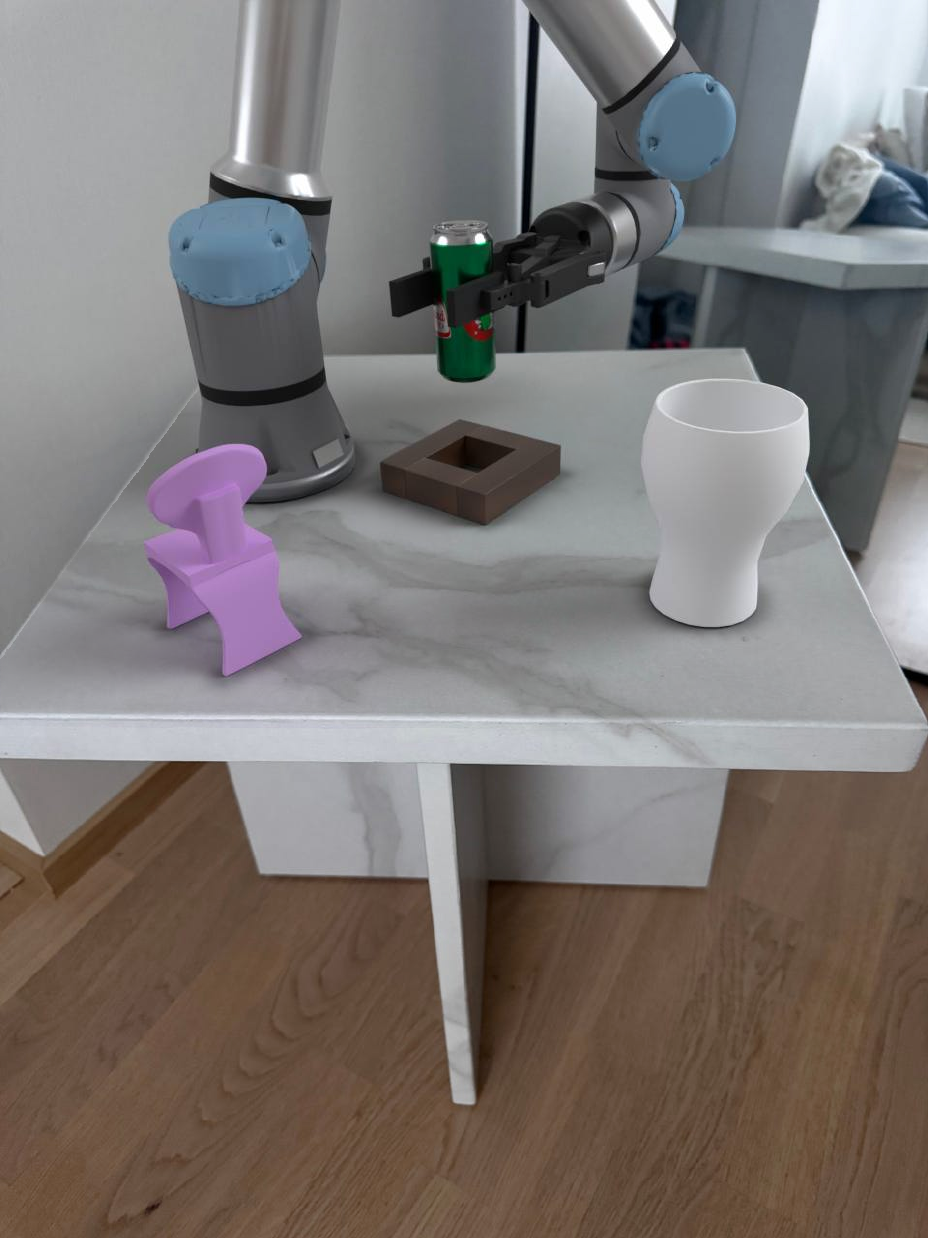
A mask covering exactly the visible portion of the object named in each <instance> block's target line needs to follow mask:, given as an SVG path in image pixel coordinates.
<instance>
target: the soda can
mask: <svg viewBox="0 0 928 1238" xmlns="http://www.w3.org/2000/svg"><path fill="white" fill-rule="evenodd" d="M488 228H489V224H488V222H485V221H483V220H478V219H477V220H476V219H455V220H446V221H441V222H438V223H436V224H434V225H433V226H432V231H433V233H432V235H431V237H430V238H429V242H428V245H429V256H430V262H431V278H432V294H433V305H432V309H433V321H434V325H433V326H434V338H435V339H434V340H435V353H436V369H437V372H438V373H439V375H440V376H441V377H442V378H443V379H445V380H447V381H449V382H453V383H459V384H469V383H470V384H471V383H477V382H480V381H484V380H486V379H488V378H489V377H490V376H492V374H493V373H494V372H495V370H496V369H497V356H496V315H495V314H496V311H495V312H492V313H490V314H488V315H485V316H483V317H481V318H478V319H476V320H474V321H471V322H469V323H467V324H464V325H462V326H460V327H457V328H451V327H448V321H447V303H446V290H449V289H451V288H454V287H457V286H459V285H462V284H465V283H467V282H470V281H473V280H475V279H478V278H481V277H483V276H486V275H488V274H491V273H494V265H493V246H494V238H493V236H492V234H491V233H490V231H489V229H488Z"/></svg>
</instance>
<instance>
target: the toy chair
mask: <svg viewBox="0 0 928 1238" xmlns="http://www.w3.org/2000/svg"><path fill="white" fill-rule="evenodd" d="M266 473H267V466H266V462H265V459H264V457H263V455H262V453H261V452H260V451H259V450H258V449H257V448H255V447H253V446H250V445H246V444H227V445H221V446H217V447H214V448H211V449H209V450H206V451H203V452H200V453H195V454H192V455H191V456H188V457H186V458H184V459H183V460H180V461H179V462H178V463H176V464H173V466H171V467H170V468H169V469H167V470H166V471H164V472H163V473H162V474H161V475H160V476H158V477H157V478H156V479H155V480H154V481H153V483H152V484H151V485H150V486H149V488H148V490H147V492H146V496H145V503H146V506H147V507H146V508H147V509H148V510H149V512H150V513H151V515H152V516H153V518H155V519H156V520H157V521H158V522H160V523H161V524H163V525H166V526H169V527H170V528H171V529H175V530H172V531H169V532H166V533H163V534H160V535H157V536H154V537H152V538H150V539H148V540H144V541H143V542H142V543H143V546H144V550H145V557H146V559H147V561H148V563H149V564H150V566H151V567H152V568H154V570H155V571H156V572H157V573H158V575H159V577H160V578H161V580H162V582H163V585H164V588H165V593H166V601H167V603H166V604H167V616H166V617H167V619H166V627H167V628H168V629H169V630H172V629H175V628H177V627H180V626H181V625H183V624H185V623H188V622H190V621H192V620H194V619H196V618H199V617H201V616H203V615H205V614H208V613H209V614H210V615H211V616H212V618H213V619H214V620H215V623H216V624H217V626H218V629H219V631H220V635H221V642H222V669H221V670H222V671H221V673H222V676H224V677H228V676H231V675H233V674H234V673H236V672H238V671H240V670H242V669H244V668H246V667H248V666H249V665H252V664H254V663H256V662H258V661H260V660H261V659H263V658H266V657H267V656H269V655H271V654H273V653H275V652H277V651H279V650H281V649H283V648H285V647H287V646H289V645H291V644H292V643H294V642H296V641H298V640H300V639H302V638H303V636H302V634H301V633H300V632H299V631H298V630H297V628H296V627H295V626H294V625H293V623H292V622H291V620H290V619H289V618H288V616H287V614H286V613H285V611H284V608H283V606H282V605H281V604H282V603H281V600H280V596H279V595H280V594H279V576H280V559H279V556H278V553H277V552H276V549H275V548H276V547H275V544H274V539H273V538H271V537H270V536H268V535H266V534H265V533H264V532H261V531H259V530H257V529H255V528H253V527H252V526H250V525H249V524H247V523H245V518H244V511H243V507H244V506H245V504H247V503H248V502H247V500H248V499H249V498H250V496H251V495H252V494H253V493H254V492H255V491H256V490H257V489H258V488H259V487H260V485H261V484H262V483H263V481H264V479H265V477H266Z"/></svg>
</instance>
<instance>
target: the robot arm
mask: <svg viewBox="0 0 928 1238" xmlns="http://www.w3.org/2000/svg"><path fill="white" fill-rule="evenodd" d="M521 2H522V3H523V5H525V7H526V8H527V9H528V12H529V13H530V14H531V15H532V16H533V18H534V19H535V20H536V22H537V23H538V25H539V26H540V27H541V29H542V30H543V32H544V33H545V34H546V36H547V37H548V38H549V40H550V41H551V43H552V44H553V45H554V47H556V49H557V51H558V52H559V53H560V54H561V56H562V57H563V58H564V60H565V61H566V63H567V64H568V65H569V67H570V68H571V70H572V71H573V72H574V74H575V75H576V76H577V78H578V79H579V80H580V81H581V83H582V84H583V86H584V87H585V88H586V90H587V91H588V92H589V94H590V95H591V97H592V98H593V99H594V101H595V102H596V113H595V114H596V117H595V118H596V119H595V126H596V127H595V154H594V155H595V157H594V180H593V181H594V182H593V183H594V184H593V193H592V194H588V195H585V196H583V197H579V198H575V199H572V200H571V201H569V202H566V203H563V204H562V203H561V204H560V205H559V204H558V205H556V206H553V207H550V208H548V209H545V210H544V211H542V212H541V213H539V214H538V216H536V217H535V218H534V220H533V222H532V223H531V225H530V227H529V229H528V230H527V232H523V233H520V234H517V235H516V237H513V238H511V239H506V240H501V241H497V242H495V244H493V265H494V273H491V274H488V275H486V276H483V277H481V278H478V279H475V280H473V281H470V282H467V283H465V284H462V285H459V286H457V287H454V288H451V289H449V290H446V303H447V321H448V327H451V328H457V327H460V326H462V325H464V324H467V323H469V322H471V321H474V320H476V319H478V318H481V317H483V316H485V315H488V314H490V313H492V312H495V313H496V312H497V311H499V310H501V309H505V307H506V306H509V307H512V308H517V307H521V306H522V305H524V304H525V303H526V302H530V304H529V305H530V307H531V308H535V309H540V308H543V307H546V306H548V305H550V304H552V303H555V302H557V301H559V300H561V299H563V298H565V297H567V296H570V295H571V294H574V293H576V292H578V291H580V290H582V289H585V288H586V287H590V286H591V287H592V286H594V285H600V284H603V283H605V279H606V277H608V276H611V275H613V274H615V273H618V272H620V271H622V270H624V269H627V268H629V267H631V266H634V265H636V264H639V263H644V262H647V261H649V260H651V259H652V258H654V257H656V255H658V254H660V253H661V252H663V251H665V249H666V250H667V248H669V247H670V246H671V245H672V244H673V243H674V242H675V240H676V239H677V238H678V237H679V235H680V232H681V231H682V228H683V224H684V220H685V207H684V203H683V200H682V197H681V193H680V191H679V189H678V188H677V187H676V186H675V185H674V184H673V183H672V181H675V182H690V181H694V180H697V179H699V178H702V177H704V176H705V175H707V174H708V173H710V172H712V171H713V170H714V169H716V168H717V166H718V165H719V164H720V163H721V161H722V160H723V159H724V158H725V156H726V154H727V153H728V151H729V149H730V148H731V145H732V143H733V139H734V137H735V131H736V127H737V125H736V124H737V113H736V107H735V104H734V101H733V98H732V95H731V94H730V93H729V91H728V90H727V89H726V87H725V86H724V85H723V84H721V82H719V81H718V79H716V78H714V77H713V76H711V75H710V74H709V73H705V72H703V71H702V70H701V69H700V68H699V66H698V65H697V63H696V61H695V60H694V58H693V57H692V55H691V54H690V52H689V51H688V49H687V48H686V46H685V45H684V44H683V42H682V41H681V40H680V38H679V36H678V35H677V33H676V30H675V29H674V28H673V26H672V25H671V23H670V22H669V20H668V19H667V17H666V15H665V14H664V12H663V11H662V9H661V8H660V6H659V5H658V3H657V1H656V0H521ZM238 3H239V4H238V17H237V31H236V43H235V44H236V45H235V57H234V70H233V84H232V87H233V88H232V97H231V111H230V123H229V124H230V126H229V136H228V137H229V138H228V139H229V140H228V150H227V151H226V153H225V154H223V155H222V156H221V157H219V159H217V160H216V161H215V162H213V163H212V164H211V165H210V171H209V185H208V199H207V203H204V204H201V205H200V206H199V208H190V209H188V210H187V211H185V212H183V213H181V215H179V216H178V217H177V218H176V219H175V220H174V221H173V222H172V224H171V225H170V228H169V231H168V236H167V239H168V241H167V242H168V249H169V267H170V270H171V273H172V277H173V279H174V281H175V284H176V289H177V294H178V299H179V302H180V303H179V304H180V307H181V312H182V315H183V316H182V317H183V321H184V325H185V329H186V333H187V338H188V343H189V346H190V347H189V348H190V352H191V356H192V361H193V365H194V370H195V374H196V378H197V382H198V388H199V390H200V391H199V392H200V397H201V413H200V422H199V432H198V448H196V449H195V454H197V453H200V452H203V451H206V450H209V449H211V448H214V447H217V446H221V445H227V444H246V445H250V446H253V447H255V448H257V449H258V450H259V451H260V452H261V453H262V455H263V457H264V459H265V462H266V466H267V473H266V477H265V479H264V481H263V483H262V484H261V485H260V487H259V488H258V489H257V490H256V491H255V492H254V493H253V494H252V495H251V496H250V498H249V499H248V500H247V502H246V503H271V502H282V501H288V500H294V499H298V498H303V497H307V496H310V495H313V494H317V493H319V492H322V491H324V490H326V489H329V488H331V487H333V486H335V485H336V484H338V483H339V482H341V481H343V480H344V479H345V478H346V477H347V476H348V475H350V474H351V472H352V471H353V470H354V468H355V465H356V461H357V459H356V452H355V444H354V439H353V437H352V435H351V433H350V431H349V430H348V428H347V426H346V424H345V421H344V419H343V416H342V414H341V412H340V410H339V408H338V405H337V403H336V401H335V399H334V397H333V395H332V393H331V391H330V388H329V386H328V382H327V381H328V380H327V375H326V368H325V359H324V358H325V357H324V351H323V343H322V342H323V341H322V336H321V329H320V319H319V313H318V312H319V311H318V299H319V293H320V287H321V283H322V282H323V279H324V277H325V273H326V267H327V250H326V248H327V242H328V235H329V227H330V218H331V211H332V210H331V209H332V204H333V203H332V201H333V195H334V193H333V191H332V190H331V187H330V186H329V185H328V183H327V181H326V180H325V179H324V177H323V176H322V173H321V165H322V157H323V149H324V141H325V133H326V126H327V125H326V124H327V119H328V109H329V101H330V94H331V87H332V79H333V71H334V61H335V54H336V46H337V39H338V31H339V25H340V24H339V23H340V16H341V8H342V7H341V6H342V0H239V2H238ZM388 287H389V289H388V290H389V298H390V299H389V300H390V311H391V317H394V318H399V319H400V318H401V317H404V316H407V315H411V314H412V313H415V312H418V311H420V310H422V309H425V308H427V307H430V306H433V294H432V278H431V262H430V255H429V256H426V257H423V258H422V269H421V270H418V271H416V272H412V273H409V274H406V275H404V276H400V277H398V278H395V279H392V280H389V281H388Z"/></svg>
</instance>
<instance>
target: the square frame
mask: <svg viewBox="0 0 928 1238" xmlns="http://www.w3.org/2000/svg"><path fill="white" fill-rule="evenodd" d="M561 456H562V445H561V444H557V443H554V442H550V441H546V440H543V439H539V438H534V437H531V436H527V435H523V434H519V433H516V432H511V431H509V430H504V429H500V428H496V427H492V426H489V425H485V424H481V423H477V422H473V421H470V420H465V419H462V418H458V419H456V420H455V421H453V422H451V423H449V424H448V425H446V426H444V427H442V428H440V429H437V430H436V431H434V432H432V433H430V434H429V435H427V436H425V437H423V438H421V439H420V440H417V441H415V442H414V443H412V444H410V445H408V446H406V447H404V448H402V449H400V450H399V451H397V452H395V453H393V454H391V455H390V456H388V457H385V458H383V459H382V460H380V461H379V469H380V478H381V479H380V480H381V488H382V491H383V492H385V493H388V494H391V495H394V496H398V497H400V498H404V499H407V500H409V501H412V502H414V503H418V504H421V505H425V506H427V507H430V508H433V509H436V510H439V511H441V512H445V513H447V514H451V515H454V516H457V517H460V518H463V519H466V520H468V521H471V522H475V523H478V524H480V525H484V526H487V525H488V524H490V523H491V522H492V521H494V520H496V519H497V518H498V517H500V516H502V515H503V514H505V512H507V511H509V510H510V509H512V508H513V507H514V506H516V505H517V504H519V503H520V502H522V501H523V500H525V499H526V498H528V497H529V496H531V495H532V494H533V493H535V492H536V491H538V490H539V489H541V488H542V487H544V486H545V485H547V484H548V483H550V482H551V481H553V480H554V479H556V478H557V477H558V476H560V475H561V459H562V457H561ZM466 464H467V465H469V466H472V467H473V466H474V467H477V468H480V469H482V470H481V471H479V472H474V471H472V470H468V469H465V468H461V467H462V466H464V465H466Z"/></svg>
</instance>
